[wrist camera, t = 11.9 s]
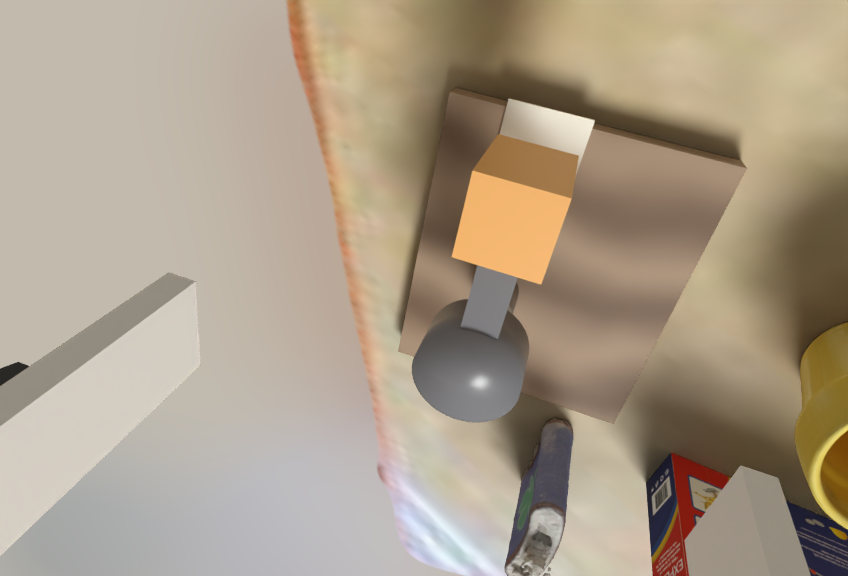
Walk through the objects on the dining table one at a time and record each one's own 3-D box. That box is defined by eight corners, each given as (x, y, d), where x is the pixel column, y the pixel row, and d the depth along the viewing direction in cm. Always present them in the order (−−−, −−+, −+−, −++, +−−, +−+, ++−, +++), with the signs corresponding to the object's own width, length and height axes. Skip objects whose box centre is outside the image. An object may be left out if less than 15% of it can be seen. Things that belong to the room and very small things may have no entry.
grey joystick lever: (514, 391, 34) (498, 462, 29) (423, 360, 35) (392, 424, 30) (599, 161, 26) (597, 205, 21) (478, 128, 27) (448, 164, 22)
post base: (457, 79, 33) (420, 104, 27) (745, 152, 31) (782, 199, 24) (404, 340, 44) (368, 403, 38) (613, 410, 42) (614, 491, 35)
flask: (547, 412, 44) (532, 526, 35) (583, 425, 43) (577, 543, 34) (516, 485, 48) (495, 601, 40) (548, 497, 48) (535, 616, 39)
